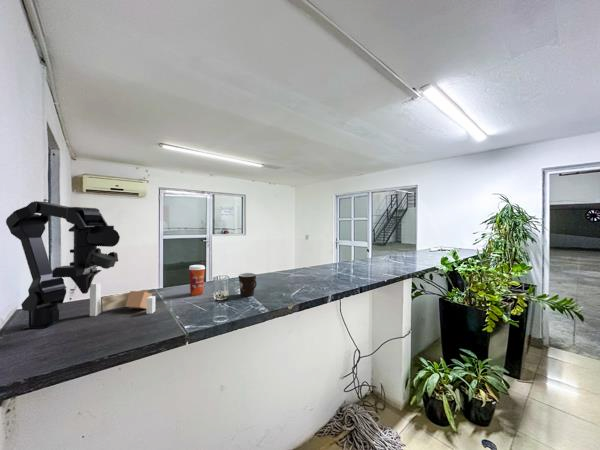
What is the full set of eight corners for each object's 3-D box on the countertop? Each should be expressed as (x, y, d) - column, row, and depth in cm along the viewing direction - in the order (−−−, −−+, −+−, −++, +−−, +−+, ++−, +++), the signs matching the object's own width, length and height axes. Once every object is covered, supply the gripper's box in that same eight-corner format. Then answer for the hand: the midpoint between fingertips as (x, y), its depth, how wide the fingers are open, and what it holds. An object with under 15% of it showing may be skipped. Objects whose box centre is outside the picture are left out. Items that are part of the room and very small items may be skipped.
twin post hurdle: (89, 316, 91) (90, 284, 91) (94, 313, 94) (95, 282, 94) (152, 313, 95) (152, 282, 95) (155, 310, 98) (155, 281, 98)
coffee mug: (237, 292, 124) (238, 273, 124) (254, 291, 127) (255, 272, 127) (239, 299, 113) (239, 278, 113) (257, 298, 116) (258, 277, 116)
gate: (102, 310, 93) (102, 297, 93) (102, 310, 94) (102, 297, 94) (148, 300, 106) (148, 289, 106) (147, 300, 106) (147, 289, 106)
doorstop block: (125, 306, 96) (130, 290, 98) (133, 308, 100) (138, 293, 103) (139, 307, 95) (144, 291, 98) (147, 308, 100) (152, 293, 102)
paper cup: (193, 297, 116) (193, 267, 116) (185, 294, 121) (185, 265, 121) (208, 293, 122) (208, 265, 122) (199, 290, 127) (200, 263, 127)
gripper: (94, 248, 72) (93, 301, 72) (127, 243, 90) (127, 285, 90) (50, 248, 70) (50, 303, 70) (93, 243, 88) (93, 286, 88)
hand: (84, 293), depth 80 cm, fingers closed
